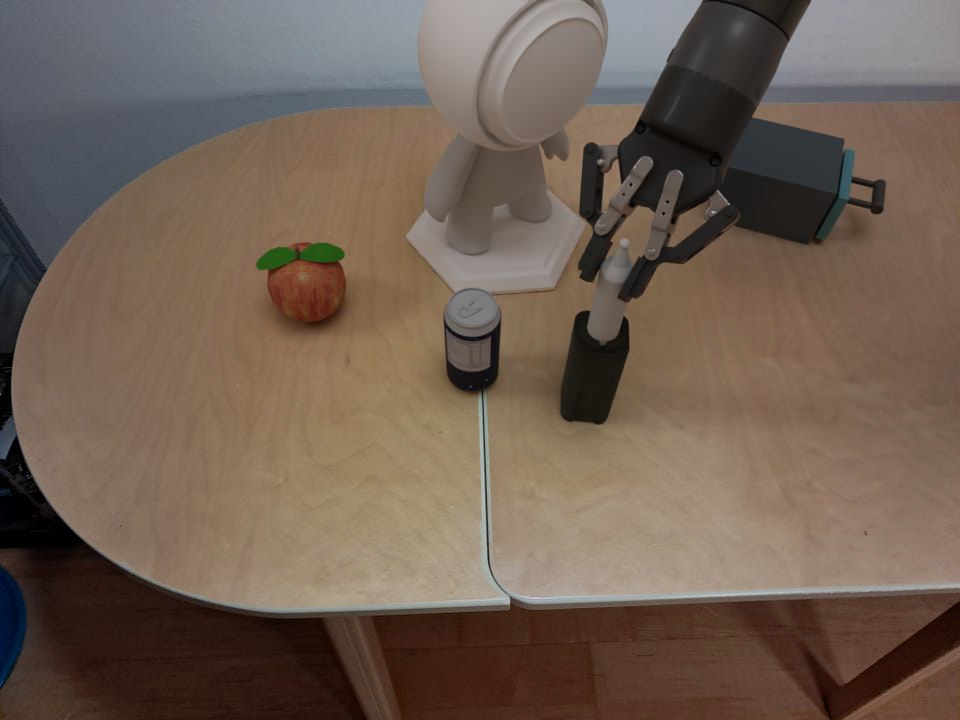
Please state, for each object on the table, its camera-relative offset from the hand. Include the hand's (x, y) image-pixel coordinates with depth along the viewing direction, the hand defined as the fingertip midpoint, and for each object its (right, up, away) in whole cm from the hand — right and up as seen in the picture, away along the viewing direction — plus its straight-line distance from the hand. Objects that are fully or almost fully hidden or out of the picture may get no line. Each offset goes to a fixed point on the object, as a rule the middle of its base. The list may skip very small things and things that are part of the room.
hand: (604, 289), depth 57 cm
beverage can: (-11, -8, +20) cm, 24 cm away
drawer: (+32, +14, +34) cm, 48 cm away
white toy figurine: (-8, +10, +32) cm, 35 cm away
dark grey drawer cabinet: (+27, +15, +36) cm, 47 cm away
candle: (+1, -11, +18) cm, 21 cm away
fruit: (-30, 0, +26) cm, 39 cm away
